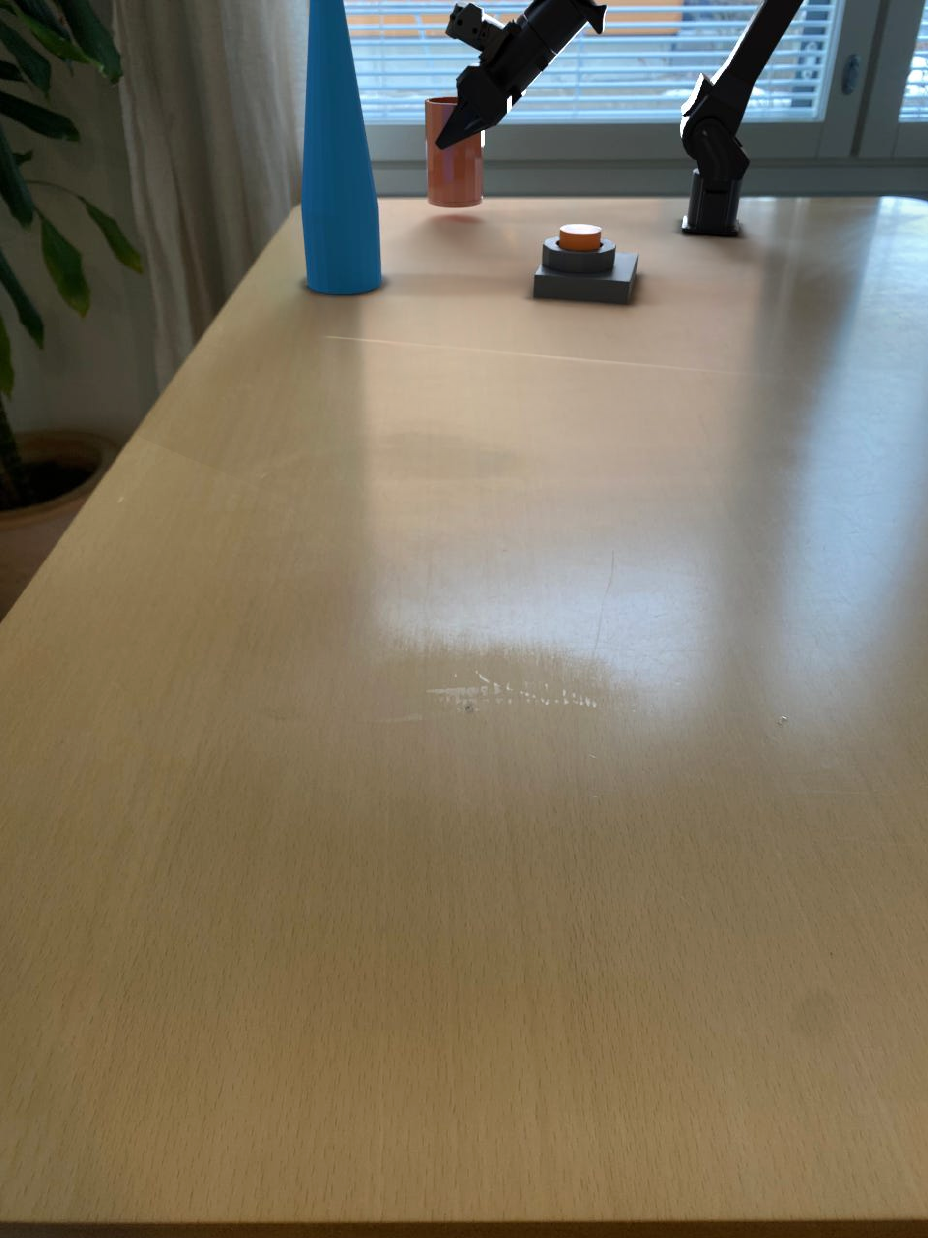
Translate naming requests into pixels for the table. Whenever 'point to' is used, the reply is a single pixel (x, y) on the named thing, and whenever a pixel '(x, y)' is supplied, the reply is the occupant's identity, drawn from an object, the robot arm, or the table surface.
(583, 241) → the orange push button
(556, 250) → the button base
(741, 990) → the table surface
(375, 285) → the bottle
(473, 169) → the cup
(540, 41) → the robot arm
